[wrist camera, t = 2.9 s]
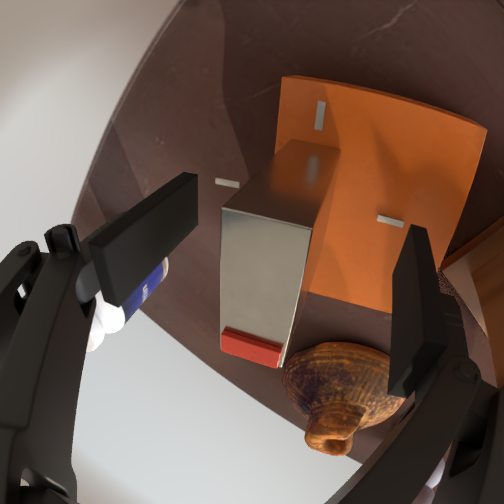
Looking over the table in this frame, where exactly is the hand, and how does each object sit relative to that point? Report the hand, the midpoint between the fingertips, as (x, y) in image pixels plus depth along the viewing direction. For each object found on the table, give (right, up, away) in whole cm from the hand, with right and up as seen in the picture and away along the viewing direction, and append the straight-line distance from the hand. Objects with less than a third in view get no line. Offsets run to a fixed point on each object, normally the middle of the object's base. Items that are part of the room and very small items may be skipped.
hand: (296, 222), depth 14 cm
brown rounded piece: (+7, -13, +14) cm, 20 cm away
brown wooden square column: (+17, -3, +2) cm, 17 cm away
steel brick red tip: (+1, +1, +2) cm, 3 cm away
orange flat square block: (+3, +3, +4) cm, 6 cm away
